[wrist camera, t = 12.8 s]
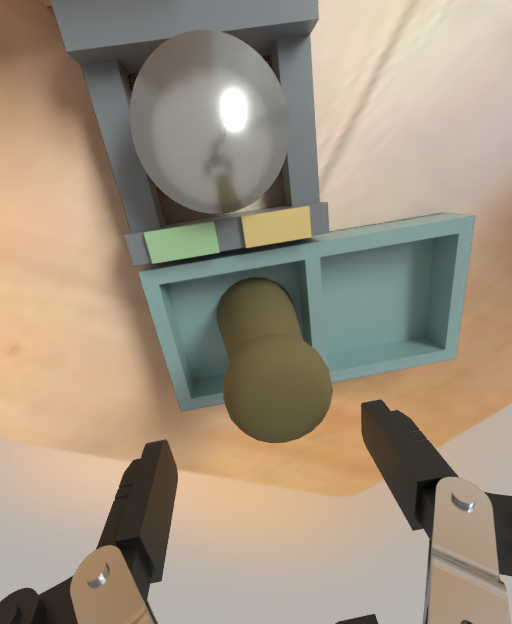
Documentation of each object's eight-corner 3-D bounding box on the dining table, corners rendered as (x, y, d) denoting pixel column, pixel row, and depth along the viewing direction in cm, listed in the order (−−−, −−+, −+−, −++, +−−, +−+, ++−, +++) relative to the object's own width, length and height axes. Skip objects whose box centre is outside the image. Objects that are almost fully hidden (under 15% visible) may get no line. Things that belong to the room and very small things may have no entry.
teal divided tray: (443, 212, 22) (475, 215, 19) (430, 341, 26) (455, 358, 23) (148, 261, 21) (138, 272, 18) (185, 387, 25) (181, 411, 22)
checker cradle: (297, 11, 17) (318, -37, 13) (312, 227, 21) (330, 233, 18) (84, 39, 16) (46, -5, 13) (146, 254, 21) (132, 267, 17)
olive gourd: (268, 360, 24) (303, 479, 14) (202, 330, 23) (187, 440, 12) (308, 299, 23) (380, 384, 13) (240, 261, 21) (260, 324, 11)
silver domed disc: (268, 55, 16) (280, 19, 13) (282, 200, 19) (296, 201, 16) (130, 74, 16) (105, 41, 13) (167, 219, 19) (155, 224, 15)
